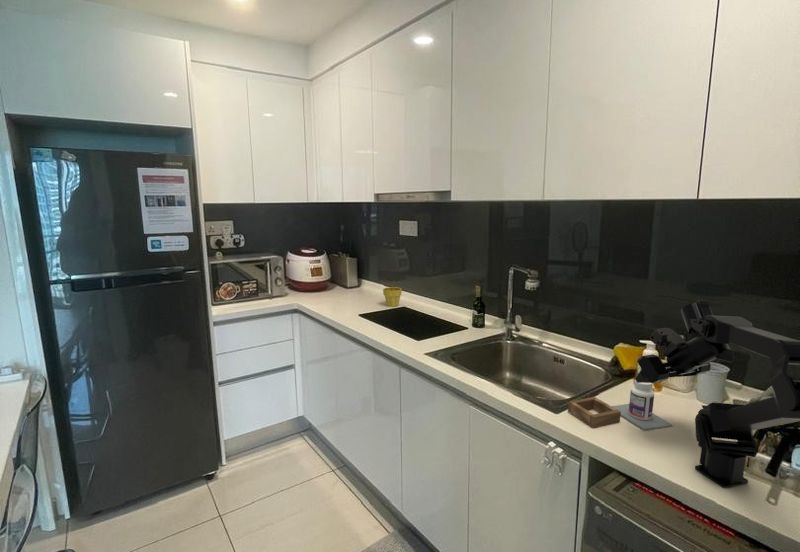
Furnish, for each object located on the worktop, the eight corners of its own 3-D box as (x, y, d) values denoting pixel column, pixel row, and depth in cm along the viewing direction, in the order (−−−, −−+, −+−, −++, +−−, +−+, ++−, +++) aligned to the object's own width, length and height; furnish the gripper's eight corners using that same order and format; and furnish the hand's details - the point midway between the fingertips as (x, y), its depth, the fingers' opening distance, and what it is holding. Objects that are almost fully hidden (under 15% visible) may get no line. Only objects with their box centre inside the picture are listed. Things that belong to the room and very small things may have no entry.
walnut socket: (619, 422, 105) (620, 411, 105) (592, 428, 102) (593, 417, 102) (593, 406, 114) (594, 396, 113) (567, 411, 111) (568, 401, 110)
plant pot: (385, 308, 223) (385, 291, 221) (381, 304, 233) (381, 287, 231) (403, 307, 225) (403, 290, 224) (399, 303, 235) (399, 286, 234)
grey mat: (672, 426, 103) (672, 424, 103) (643, 431, 101) (644, 429, 101) (635, 404, 115) (635, 402, 115) (608, 408, 113) (608, 406, 113)
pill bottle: (643, 410, 111) (647, 376, 109) (656, 420, 105) (660, 385, 104) (623, 410, 110) (627, 377, 109) (636, 421, 105) (640, 385, 103)
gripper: (704, 317, 100) (657, 346, 112) (648, 324, 94) (605, 353, 106) (734, 358, 94) (682, 384, 106) (677, 369, 88) (628, 395, 100)
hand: (649, 378), depth 104 cm, fingers open, 9 cm apart
